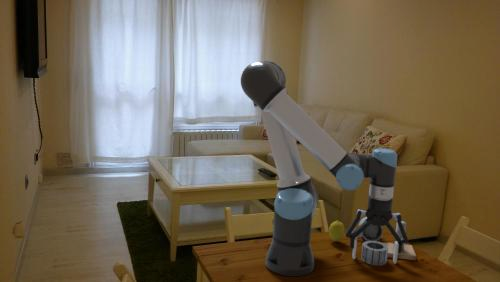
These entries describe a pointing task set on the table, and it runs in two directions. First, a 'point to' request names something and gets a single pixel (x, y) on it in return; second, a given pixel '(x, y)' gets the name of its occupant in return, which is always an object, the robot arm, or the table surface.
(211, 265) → the table surface
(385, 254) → the ring
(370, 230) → the ceramic mug
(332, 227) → the lemon
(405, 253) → the shaft stand
